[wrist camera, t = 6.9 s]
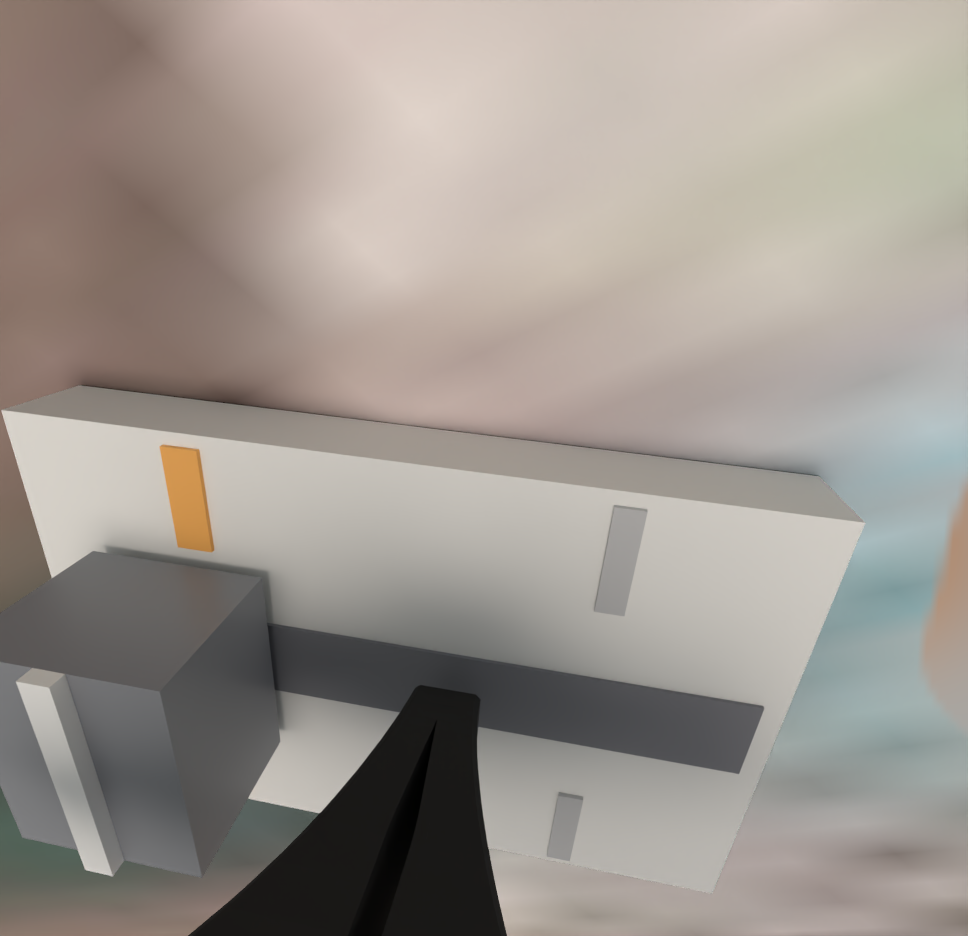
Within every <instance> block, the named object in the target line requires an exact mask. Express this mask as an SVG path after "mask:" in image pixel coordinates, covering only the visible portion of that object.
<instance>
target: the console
mask: <svg viewBox="0 0 968 936" xmlns="http://www.w3.org/2000/svg"><path fill="white" fill-rule="evenodd" d="M1 411H2V414H3V417H4V421H5V424H6V427H7V431H8V434H9V437H10V441H11V444H12V447H13V451H14V454H15V457H16V460H17V464H18V467H19V470H20V474H21V477H22V480H23V484H24V487H25V490H26V494H27V497H28V500H29V503H30V507H31V510H32V513H33V517H34V520H35V523H36V527H37V530H38V533H39V537H40V540H41V543H42V547H43V550H44V553H45V556H46V560H47V563H48V566H49V570H50V573H51V576H52V578H53V577H55V576H56V575H58V574H59V573H61V572H62V571H64V570H65V569H67V568H68V567H70V566H71V565H73V564H74V563H76V562H77V561H79V560H80V559H82V558H83V557H85V556H86V555H88V554H89V553H91V552H92V551H97V552H103V553H110V554H116V555H122V556H129V557H135V558H141V559H147V560H154V561H160V562H166V563H173V564H179V565H185V566H192V567H198V568H204V569H211V570H217V571H223V572H229V573H236V574H242V575H248V576H255V577H261V578H262V581H263V590H264V599H265V608H266V617H267V626H268V634H269V643H270V652H271V661H272V670H273V679H274V688H275V697H276V706H277V715H278V724H279V733H280V743H279V745H278V747H277V749H276V750H275V752H274V754H273V755H272V757H271V759H270V761H269V762H268V764H267V766H266V768H265V769H264V771H263V773H262V775H261V776H260V778H259V780H258V782H257V783H256V785H255V787H254V789H253V790H252V792H251V794H250V796H249V797H248V799H253V800H257V801H262V802H267V803H272V804H277V805H282V806H287V807H291V808H296V809H301V810H306V811H311V812H316V813H321V812H322V810H323V809H324V808H325V807H326V806H327V805H328V804H329V803H330V801H331V800H332V799H333V798H334V797H335V796H336V794H337V793H338V792H339V791H340V790H341V789H342V787H343V786H344V785H345V784H346V783H347V782H348V780H349V779H350V778H351V777H352V776H353V775H354V773H355V772H356V771H357V770H358V768H359V767H360V766H361V765H362V763H363V762H364V761H365V759H366V758H367V757H368V756H369V754H370V753H371V752H372V750H373V749H374V748H375V746H376V745H377V744H378V743H379V741H380V740H381V739H382V737H383V736H384V734H385V733H386V732H387V730H388V729H389V727H390V726H391V725H392V723H393V722H394V720H395V719H396V717H397V716H398V714H399V713H400V711H401V710H402V708H403V707H404V705H405V704H406V702H407V701H408V699H409V697H410V696H411V694H412V692H413V690H414V689H415V688H416V687H417V686H419V685H424V686H430V687H436V688H442V689H447V690H453V691H459V692H465V693H471V694H476V695H477V696H478V697H479V698H480V699H481V701H480V712H479V723H478V734H477V759H478V773H479V783H480V793H481V803H482V810H483V818H484V824H485V831H486V837H487V844H488V848H491V849H496V850H501V851H506V852H511V853H515V854H520V855H525V856H530V857H535V858H540V859H545V860H549V861H554V862H559V863H564V864H569V865H574V866H579V867H584V868H588V869H593V870H598V871H603V872H608V873H613V874H618V875H622V876H627V877H632V878H637V879H642V880H647V881H652V882H657V883H661V884H666V885H671V886H676V887H681V888H686V889H691V890H696V891H700V892H705V893H710V894H712V893H713V891H714V888H715V886H716V883H717V881H718V879H719V876H720V874H721V871H722V869H723V866H724V864H725V862H726V859H727V857H728V854H729V852H730V850H731V847H732V845H733V842H734V840H735V837H736V835H737V833H738V830H739V828H740V825H741V823H742V820H743V818H744V816H745V813H746V811H747V808H748V806H749V803H750V801H751V799H752V796H753V794H754V791H755V789H756V787H757V784H758V782H759V779H760V777H761V774H762V772H763V770H764V767H765V765H766V762H767V760H768V757H769V755H770V753H771V750H772V748H773V745H774V743H775V740H776V738H777V736H778V733H779V731H780V728H781V726H782V724H783V721H784V719H785V716H786V714H787V711H788V709H789V707H790V704H791V702H792V699H793V697H794V694H795V692H796V690H797V687H798V685H799V682H800V680H801V677H802V675H803V673H804V670H805V668H806V665H807V663H808V661H809V658H810V656H811V653H812V651H813V648H814V646H815V644H816V641H817V639H818V636H819V634H820V631H821V629H822V627H823V624H824V622H825V619H826V617H827V614H828V612H829V610H830V607H831V605H832V602H833V600H834V598H835V595H836V593H837V590H838V588H839V585H840V583H841V581H842V578H843V576H844V573H845V571H846V568H847V566H848V564H849V561H850V559H851V556H852V554H853V551H854V549H855V547H856V544H857V542H858V539H859V537H860V535H861V532H862V530H863V527H864V525H865V522H864V521H863V520H862V519H861V518H860V517H859V516H858V515H857V514H856V513H855V512H854V511H853V510H852V509H851V508H850V507H849V506H848V505H847V504H846V503H845V502H844V501H843V500H842V499H841V498H840V497H839V496H838V495H837V494H836V493H835V492H834V491H833V490H832V489H831V488H830V487H829V486H828V485H827V484H826V483H825V482H824V481H823V480H822V479H821V478H820V477H819V476H813V475H805V474H797V473H789V472H780V471H772V470H764V469H756V468H748V467H740V466H732V465H724V464H715V463H707V462H699V461H691V460H683V459H675V458H667V457H658V456H650V455H642V454H634V453H626V452H618V451H610V450H602V449H593V448H585V447H577V446H569V445H561V444H553V443H545V442H537V441H528V440H520V439H512V438H504V437H496V436H488V435H480V434H472V433H463V432H455V431H447V430H439V429H431V428H423V427H415V426H406V425H398V424H390V423H382V422H374V421H366V420H358V419H350V418H341V417H333V416H325V415H317V414H309V413H301V412H293V411H285V410H276V409H268V408H260V407H252V406H244V405H236V404H228V403H220V402H211V401H203V400H195V399H187V398H179V397H171V396H163V395H154V394H146V393H138V392H130V391H122V390H114V389H106V388H98V387H89V386H81V385H79V386H76V387H73V388H70V389H67V390H63V391H60V392H57V393H54V394H51V395H47V396H44V397H41V398H38V399H35V400H32V401H28V402H25V403H22V404H19V405H16V406H12V407H9V408H6V409H3V410H1Z"/></svg>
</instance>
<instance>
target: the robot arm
mask: <svg viewBox="0 0 968 936" xmlns="http://www.w3.org/2000/svg"><path fill="white" fill-rule="evenodd" d="M480 701H481V699H480V698H479V697H478V696H477V695H476V694H471V693H465V692H459V691H453V690H447V689H442V688H436V687H430V686H424V685H419V686H417V687H416V688H415V689H414V690H413V692H412V694H411V696H410V697H409V699H408V701H407V702H406V704H405V705H404V707H403V708H402V710H401V711H400V713H399V714H398V716H397V717H396V719H395V720H394V722H393V723H392V725H391V726H390V727H389V729H388V730H387V732H386V733H385V734H384V736H383V737H382V739H381V740H380V741H379V743H378V744H377V745H376V746H375V748H374V749H373V750H372V752H371V753H370V754H369V756H368V757H367V758H366V759H365V761H364V762H363V763H362V765H361V766H360V767H359V768H358V770H357V771H356V772H355V773H354V775H353V776H352V777H351V778H350V779H349V780H348V782H347V783H346V784H345V785H344V786H343V787H342V789H341V790H340V791H339V792H338V793H337V794H336V796H335V797H334V798H333V799H332V800H331V801H330V803H329V804H328V805H327V806H326V807H325V808H324V809H323V810H322V812H321V813H320V814H319V815H318V816H317V817H316V818H315V819H314V820H313V821H312V822H311V823H310V825H309V826H308V827H307V828H306V829H305V830H304V831H303V832H302V833H301V834H300V835H299V836H298V837H297V838H296V839H295V840H294V841H293V842H292V843H291V844H290V845H289V846H288V847H287V848H286V849H285V850H284V851H283V852H282V853H281V854H280V855H279V856H278V857H277V858H276V859H275V860H274V861H273V862H272V863H271V864H269V865H268V866H267V867H266V868H265V869H264V870H263V871H262V872H261V873H260V874H259V875H258V876H257V877H256V878H255V879H254V880H253V881H252V882H250V883H249V884H248V885H247V886H246V887H245V888H244V889H243V890H242V891H240V892H239V893H238V894H237V895H236V896H235V897H234V898H233V899H231V900H230V901H229V902H228V903H227V904H226V905H224V906H223V907H222V908H221V909H220V910H218V911H217V912H216V913H215V914H214V915H212V916H211V917H210V918H209V919H208V920H206V921H205V922H204V923H203V924H202V925H200V926H199V927H198V928H197V929H196V930H194V931H193V932H192V933H191V934H190V935H188V936H507V934H506V930H505V926H504V921H503V917H502V913H501V909H500V904H499V900H498V895H497V890H496V886H495V881H494V876H493V871H492V866H491V861H490V855H489V849H488V844H487V837H486V831H485V824H484V818H483V810H482V803H481V793H480V783H479V773H478V759H477V734H478V723H479V712H480Z"/></svg>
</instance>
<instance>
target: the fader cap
mask: <svg viewBox="0 0 968 936" xmlns="http://www.w3.org/2000/svg"><path fill="white" fill-rule="evenodd" d="M279 743H280V733H279V724H278V715H277V706H276V697H275V688H274V679H273V670H272V661H271V652H270V643H269V634H268V626H267V617H266V608H265V599H264V590H263V581H262V578H261V577H255V576H248V575H242V574H236V573H229V572H223V571H217V570H211V569H204V568H198V567H192V566H185V565H179V564H173V563H166V562H160V561H154V560H147V559H141V558H135V557H129V556H122V555H116V554H110V553H103V552H97V551H92V552H91V553H89V554H88V555H86V556H85V557H83V558H82V559H80V560H79V561H77V562H76V563H74V564H73V565H71V566H70V567H68V568H67V569H65V570H64V571H62V572H61V573H59V574H58V575H56V576H55V577H53V578H52V579H50V580H49V581H47V582H46V583H44V584H43V585H41V586H40V587H38V588H37V589H35V590H34V591H32V592H31V593H29V594H28V595H26V596H25V597H23V598H22V599H20V600H19V601H17V602H16V603H14V604H13V605H11V606H10V607H8V608H7V609H5V610H4V611H2V612H1V613H0V786H1V788H2V791H3V793H4V795H5V798H6V800H7V802H8V805H9V807H10V809H11V812H12V814H13V816H14V819H15V821H16V823H17V826H18V828H19V830H20V833H21V835H22V837H23V838H27V839H31V840H36V841H40V842H45V843H49V844H53V845H58V846H62V847H67V848H71V849H76V850H78V851H79V854H80V857H81V860H82V862H83V865H84V868H85V870H88V871H92V872H97V873H101V874H105V875H110V876H113V875H114V874H115V872H116V871H117V870H118V868H119V867H120V865H121V864H122V863H123V861H124V860H125V861H129V862H134V863H138V864H143V865H147V866H152V867H156V868H161V869H165V870H169V871H174V872H178V873H183V874H187V875H192V876H196V877H201V878H202V877H203V876H204V874H205V872H206V870H207V869H208V867H209V865H210V863H211V862H212V860H213V858H214V856H215V855H216V853H217V851H218V849H219V848H220V846H221V844H222V842H223V841H224V839H225V837H226V836H227V834H228V832H229V830H230V829H231V827H232V825H233V823H234V822H235V820H236V818H237V816H238V815H239V813H240V811H241V809H242V808H243V806H244V804H245V802H246V801H247V799H248V797H249V796H250V794H251V792H252V790H253V789H254V787H255V785H256V783H257V782H258V780H259V778H260V776H261V775H262V773H263V771H264V769H265V768H266V766H267V764H268V762H269V761H270V759H271V757H272V755H273V754H274V752H275V750H276V749H277V747H278V745H279Z"/></svg>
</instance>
